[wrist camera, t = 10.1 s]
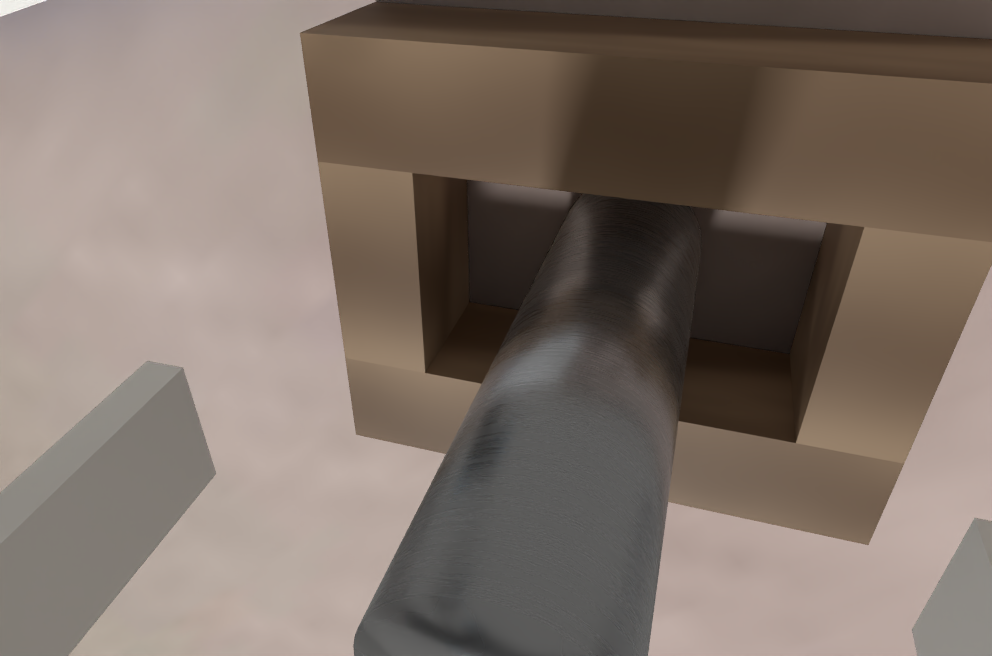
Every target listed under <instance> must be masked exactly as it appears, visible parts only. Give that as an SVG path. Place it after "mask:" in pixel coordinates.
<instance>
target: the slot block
mask: <svg viewBox="0 0 992 656" xmlns="http://www.w3.org/2000/svg"><path fill="white" fill-rule="evenodd" d="M300 37H301V44H302V51H303V58H304V65H305V72H306V80H307V87H308V94H309V101H310V108H311V115H312V123H313V130H314V137H315V144H316V151H317V158H318V165H319V173H320V180H321V187H322V194H323V201H324V208H325V215H326V223H327V230H328V237H329V244H330V251H331V258H332V266H333V273H334V280H335V287H336V294H337V301H338V308H339V316H340V323H341V330H342V337H343V344H344V351H345V358H346V366H347V373H348V380H349V387H350V394H351V401H352V409H353V416H354V423H355V430H356V435H361V436H365V437H370V438H375V439H379V440H384V441H388V442H393V443H398V444H402V445H407V446H412V447H416V448H421V449H425V450H430V451H435V452H439V453H444V454H446V453H447V451H448V449H449V447H450V445H451V443H452V441H453V439H454V437H455V435H456V434H457V432H458V430H459V428H460V426H461V424H462V422H463V420H464V418H465V416H466V414H467V412H468V410H469V408H470V406H471V404H472V402H473V400H474V398H475V396H476V394H477V392H478V390H479V388H480V386H481V384H482V382H483V380H484V378H485V376H486V374H487V372H488V370H489V368H490V366H491V364H492V362H493V361H494V359H495V357H496V355H497V353H498V351H499V349H500V347H501V345H502V343H503V341H504V339H505V337H506V335H507V333H508V331H509V329H510V327H511V325H512V323H513V321H514V319H515V317H516V315H517V313H518V311H519V310H514V309H508V308H502V307H496V306H490V305H483V304H477V303H471V302H469V255H468V205H467V180H476V181H484V182H492V183H501V184H509V185H517V186H526V187H534V188H542V189H551V190H559V191H567V192H576V193H584V194H593V195H601V196H609V197H618V198H626V199H634V200H643V201H651V202H659V203H668V204H676V205H684V206H693V207H701V208H710V209H718V210H726V211H735V212H743V213H751V214H760V215H768V216H776V217H785V218H793V219H801V220H810V221H818V222H826V223H827V225H826V228H825V232H824V235H823V239H822V243H821V246H820V250H819V253H818V257H817V260H816V264H815V267H814V271H813V274H812V278H811V281H810V285H809V288H808V292H807V295H806V299H805V302H804V306H803V309H802V313H801V316H800V320H799V323H798V327H797V330H796V334H795V337H794V341H793V344H792V348H791V351H790V354H786V353H780V352H774V351H768V350H761V349H755V348H749V347H743V346H737V345H730V344H724V343H718V342H712V341H706V340H700V339H693V338H690V339H689V346H688V354H687V361H686V369H685V377H684V384H683V392H682V399H681V407H680V415H679V422H678V430H677V437H676V445H675V453H674V460H673V468H672V475H671V483H670V491H669V498H668V502H671V503H676V504H680V505H685V506H690V507H694V508H699V509H703V510H708V511H713V512H717V513H722V514H727V515H731V516H736V517H740V518H745V519H750V520H754V521H759V522H764V523H768V524H773V525H778V526H782V527H787V528H791V529H796V530H801V531H805V532H810V533H815V534H819V535H824V536H828V537H833V538H838V539H842V540H847V541H852V542H856V543H861V544H866V545H869V542H870V540H871V538H872V535H873V533H874V531H875V529H876V526H877V524H878V522H879V520H880V517H881V515H882V513H883V510H884V508H885V506H886V504H887V501H888V499H889V497H890V495H891V492H892V490H893V488H894V485H895V483H896V481H897V479H898V476H899V474H900V472H901V470H902V467H903V465H904V463H905V460H906V458H907V456H908V454H909V451H910V449H911V447H912V445H913V442H914V440H915V438H916V435H917V433H918V431H919V429H920V426H921V424H922V422H923V420H924V417H925V415H926V413H927V410H928V408H929V406H930V404H931V401H932V399H933V397H934V395H935V392H936V390H937V388H938V385H939V383H940V381H941V379H942V376H943V374H944V372H945V369H946V367H947V365H948V363H949V360H950V358H951V356H952V354H953V351H954V349H955V347H956V344H957V342H958V340H959V338H960V335H961V333H962V331H963V329H964V326H965V324H966V322H967V319H968V317H969V315H970V313H971V310H972V308H973V306H974V304H975V301H976V299H977V297H978V294H979V292H980V290H981V288H982V285H983V283H984V281H985V279H986V276H987V274H988V272H989V269H990V267H991V265H992V39H979V38H962V37H945V36H929V35H912V34H896V33H879V32H863V31H846V30H830V29H813V28H796V27H780V26H763V25H747V24H730V23H714V22H697V21H681V20H664V19H648V18H631V17H614V16H598V15H581V14H565V13H548V12H532V11H515V10H499V9H482V8H465V7H449V6H432V5H416V4H399V3H383V2H374V3H372V4H369V5H367V6H364V7H362V8H359V9H357V10H354V11H352V12H350V13H347V14H345V15H342V16H340V17H337V18H335V19H333V20H330V21H328V22H325V23H323V24H320V25H318V26H316V27H313V28H311V29H308V30H306V31H303V32H301V33H300Z"/></svg>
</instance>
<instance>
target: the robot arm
mask: <svg viewBox="0 0 992 656" xmlns="http://www.w3.org/2000/svg"><path fill="white" fill-rule="evenodd" d="M215 474H216V471H215V468H214V465H213V462H212V458H211V455H210V452H209V449H208V446H207V443H206V439H205V436H204V433H203V430H202V427H201V424H200V420H199V417H198V414H197V411H196V408H195V404H194V401H193V398H192V395H191V392H190V389H189V385H188V382H187V379H186V376H185V373H184V369H183V368H182V367H177V366H172V365H167V364H161V363H156V362H151V361H147V362H145V363H144V364H143V365H142V366H141V367H140V368H139V369H138V370H137V371H135V372H134V373H133V374H132V375H131V376H130V377H129V378H128V379H126V380H125V381H124V382H123V383H122V384H121V385H120V386H119V387H118V388H116V389H115V390H114V391H113V392H112V393H111V394H110V395H109V396H108V397H106V398H105V399H104V400H103V401H102V402H101V403H100V404H99V405H98V406H96V407H95V408H94V409H93V410H92V411H91V412H90V413H89V414H87V415H86V416H85V417H84V418H83V419H82V420H81V421H80V422H79V423H77V424H76V425H75V426H74V427H73V428H72V429H71V430H70V431H69V432H67V433H66V434H65V435H64V436H63V437H62V438H61V439H60V440H59V441H57V442H56V443H55V444H54V445H53V446H52V447H51V448H50V449H48V450H47V451H46V452H45V453H44V454H43V455H42V456H41V457H40V458H38V459H37V460H36V461H35V462H34V463H33V464H32V465H31V466H30V467H28V468H27V469H26V470H25V471H24V472H23V473H22V474H21V475H20V476H18V477H17V478H16V479H15V480H14V481H13V482H12V483H11V484H9V485H8V486H7V487H6V488H5V489H4V490H3V491H2V492H1V493H0V656H68V655H69V654H70V653H71V652H72V650H73V649H74V648H75V647H76V646H77V644H78V643H79V642H80V641H81V639H82V638H83V637H84V636H85V634H86V633H87V632H88V631H89V630H90V628H91V627H92V626H93V625H94V623H95V622H96V621H97V620H98V618H99V617H100V616H101V615H102V614H103V612H104V611H105V610H106V609H107V607H108V606H109V605H110V604H111V602H112V601H113V600H114V599H115V598H116V596H117V595H118V594H119V593H120V591H121V590H122V589H123V588H124V586H125V585H126V584H127V583H128V582H129V580H130V579H131V578H132V577H133V575H134V574H135V573H136V572H137V570H138V569H139V568H140V567H141V566H142V564H143V563H144V562H145V561H146V559H147V558H148V557H149V556H150V554H151V553H152V552H153V551H154V550H155V548H156V547H157V546H158V545H159V543H160V542H161V541H162V540H163V538H164V537H165V536H166V535H167V534H168V532H169V531H170V530H171V529H172V527H173V526H174V525H175V524H176V522H177V521H178V520H179V519H180V518H181V516H182V515H183V514H184V513H185V511H186V510H187V509H188V508H189V506H190V505H191V504H192V503H193V502H194V500H195V499H196V498H197V497H198V495H199V494H200V493H201V492H202V490H203V489H204V488H205V487H206V486H207V484H208V483H209V482H210V481H211V479H212V478H213V477H214V476H215ZM912 633H913V638H914V642H915V647H916V652H917V656H992V521H989V520H983V519H978V518H974V520H973V522H972V524H971V526H970V527H969V529H968V531H967V533H966V534H965V536H964V538H963V540H962V542H961V543H960V545H959V547H958V549H957V550H956V552H955V554H954V556H953V558H952V559H951V561H950V563H949V565H948V566H947V568H946V570H945V572H944V574H943V575H942V577H941V579H940V581H939V582H938V584H937V586H936V588H935V590H934V591H933V593H932V595H931V597H930V598H929V600H928V602H927V604H926V606H925V607H924V609H923V611H922V613H921V614H920V616H919V618H918V620H917V622H916V623H915V625H914V627H913V629H912Z"/></svg>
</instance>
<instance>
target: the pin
mask: <svg viewBox="0 0 992 656" xmlns="http://www.w3.org/2000/svg"><path fill="white" fill-rule="evenodd" d="M701 246H702V239H701V231H700V227H699V224H698V221H697V218H696V216H695V215H694V213H693V211H692V209H691V208H690V207H689V206H684V205H676V204H668V203H659V202H651V201H643V200H634V199H626V198H618V197H609V196H601V195H593V194H583V195H581V196H580V197H579V198H578V199H577V201H576V202H575V203H574V204H573V206H572V207H571V209H570V211H569V213H568V215H567V217H566V218H565V220H564V222H563V224H562V226H561V228H560V230H559V232H558V234H557V236H556V238H555V240H554V242H553V244H552V246H551V248H550V250H549V252H548V254H547V256H546V258H545V260H544V262H543V264H542V266H541V268H540V270H539V272H538V274H537V276H536V278H535V280H534V282H533V284H532V286H531V288H530V289H529V291H528V293H527V295H526V297H525V299H524V301H523V303H522V305H521V307H520V309H519V311H518V313H517V315H516V317H515V319H514V321H513V323H512V325H511V327H510V329H509V331H508V333H507V335H506V337H505V339H504V341H503V343H502V345H501V347H500V349H499V351H498V353H497V355H496V357H495V359H494V361H493V362H492V364H491V366H490V368H489V370H488V372H487V374H486V376H485V378H484V380H483V382H482V384H481V386H480V388H479V390H478V392H477V394H476V396H475V398H474V400H473V402H472V404H471V406H470V408H469V410H468V412H467V414H466V416H465V418H464V420H463V422H462V424H461V426H460V428H459V430H458V432H457V434H456V435H455V437H454V439H453V441H452V443H451V445H450V447H449V449H448V451H447V453H446V455H445V457H444V459H443V461H442V463H441V465H440V467H439V469H438V471H437V473H436V475H435V477H434V479H433V481H432V483H431V485H430V487H429V489H428V491H427V493H426V495H425V497H424V499H423V501H422V503H421V505H420V506H419V508H418V510H417V512H416V514H415V516H414V518H413V520H412V522H411V524H410V526H409V528H408V530H407V532H406V534H405V536H404V538H403V540H402V542H401V544H400V546H399V548H398V550H397V552H396V554H395V556H394V558H393V560H392V562H391V564H390V566H389V568H388V570H387V572H386V574H385V576H384V578H383V579H382V581H381V583H380V585H379V587H378V589H377V591H376V593H375V595H374V597H373V599H372V601H371V603H370V605H369V607H368V609H367V611H366V613H365V615H364V617H363V619H362V621H361V623H360V625H359V627H358V629H357V632H356V634H355V639H354V656H648V650H649V642H650V635H651V627H652V620H653V612H654V604H655V597H656V589H657V582H658V574H659V566H660V559H661V551H662V544H663V536H664V529H665V521H666V513H667V506H668V498H669V491H670V483H671V475H672V468H673V460H674V453H675V445H676V437H677V430H678V422H679V415H680V407H681V399H682V392H683V384H684V377H685V369H686V361H687V354H688V346H689V339H690V331H691V323H692V316H693V308H694V301H695V293H696V285H697V278H698V270H699V263H700V255H701Z"/></svg>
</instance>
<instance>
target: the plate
mask: <svg viewBox="0 0 992 656" xmlns="http://www.w3.org/2000/svg"><path fill="white" fill-rule="evenodd" d="M43 1H46V0H0V17H1V16H4V15H7V14H9V13H12V12H15V11H18V10H21V9H23V8H26V7H29V6H32V5H35V4H37V3H40V2H43Z"/></svg>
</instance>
